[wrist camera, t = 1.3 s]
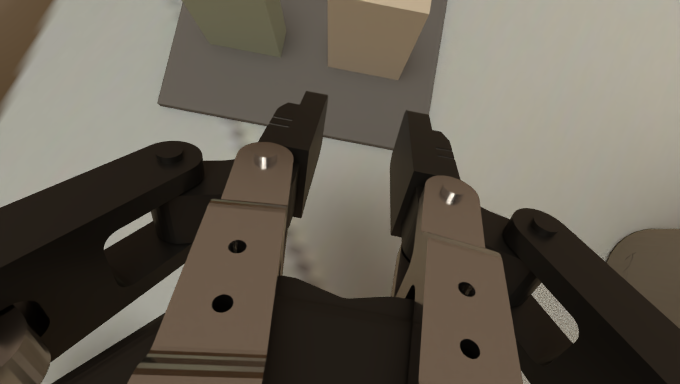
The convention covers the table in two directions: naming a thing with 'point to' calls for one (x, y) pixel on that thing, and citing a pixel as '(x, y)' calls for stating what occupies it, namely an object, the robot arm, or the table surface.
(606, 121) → the table surface
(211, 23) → the one-dot tile
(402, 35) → the plain beige block
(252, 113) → the slate mat
